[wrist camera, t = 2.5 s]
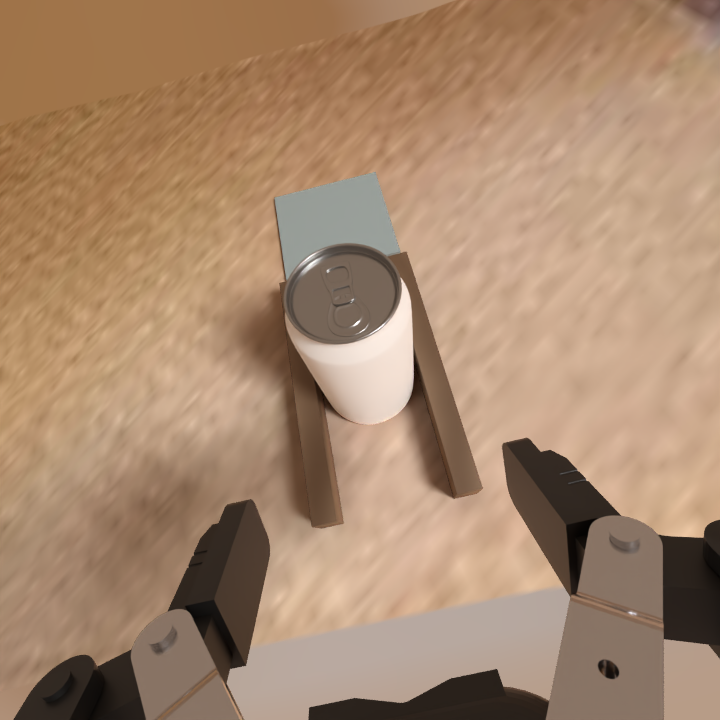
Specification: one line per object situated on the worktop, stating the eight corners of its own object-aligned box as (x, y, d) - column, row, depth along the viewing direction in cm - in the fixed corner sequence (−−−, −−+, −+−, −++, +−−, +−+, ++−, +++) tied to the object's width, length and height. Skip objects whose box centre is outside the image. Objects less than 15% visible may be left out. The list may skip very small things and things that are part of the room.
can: (336, 437, 28) (285, 369, 17) (319, 357, 31) (265, 256, 20) (425, 412, 28) (429, 329, 17) (400, 335, 31) (389, 221, 20)
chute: (321, 528, 26) (311, 526, 23) (288, 300, 33) (279, 283, 31) (477, 493, 25) (482, 488, 23) (407, 271, 33) (406, 251, 31)
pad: (287, 281, 34) (286, 279, 34) (275, 200, 39) (274, 197, 38) (400, 253, 34) (400, 251, 34) (375, 174, 38) (375, 171, 38)
